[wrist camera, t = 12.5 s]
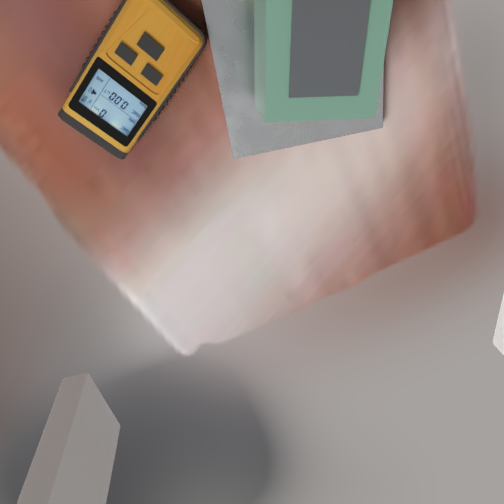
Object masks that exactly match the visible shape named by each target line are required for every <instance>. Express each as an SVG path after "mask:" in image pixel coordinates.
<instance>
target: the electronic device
mask: <svg viewBox="0 0 504 504" xmlns="http://www.w3.org/2000/svg"><path fill="white" fill-rule="evenodd" d="M109 20H110V24H109V25H106V26H105V27H106V30H105V31H104V32H102V33H101V34H102V37H101V38H98V44H96V45H94V50H93V51H90V57H87V58H86V61H87V62H86V63H84V64H83V65H82V66H83V69H82V70H81V72H80V74H79V75H78V77H77V79H76V81H75V82H74V84H73V86H72V87H71V89H70V91H69V92H70V95H69V96H68V98H67V100H66V101H65V103H64V105H63V106H62V108H61V110H60V111H59V113H58V116H59V117H60V118H61V119H62V120H63V121H64V122H65V123H67V124H68V125H70V126H71V127H73V128H74V129H76V130H77V131H79V132H80V133H82V134H83V135H85V136H86V137H87V138H89V139H90V140H92V141H93V142H95V143H96V144H98V145H99V146H101V147H102V148H104V149H105V150H107V151H108V152H110V153H111V154H113V155H114V156H116V157H117V158H120V159H124V158H125V157H126V156H127V154H128V153H129V151H130V150H131V148H132V147H133V145H134V144H135V143H136V141H139V140H140V139H141V137H142V136H143V134H144V133H145V131H146V130H147V129H148V127H149V126H150V124H151V123H152V121H155V120H156V118H157V117H156V116H157V115H160V110H163V109H164V104H167V103H168V99H171V98H172V93H175V92H176V87H179V86H180V82H181V81H182V82H183V81H184V76H187V75H188V70H189V69H190V68H191V66H192V65H193V63H194V62H195V61H196V59H197V58H198V56H199V55H200V53H201V52H202V51H203V49H204V47H205V44H206V38H205V35H204V33H203V32H202V30H201V29H200V28H199V27H197V26H196V25H195V24H194V23H193V22H192V21H191V20H190V19H189V18H188V17H187V16H186V15H185V14H184V13H182V12H181V11H180V10H179V9H178V8H177V7H176V6H175V5H174V4H173V3H172V2H171V1H170V0H123V2H122V3H121V5H120V7H119V8H118V10H117V12H116V11H114V17H113V18H110V19H109Z"/></svg>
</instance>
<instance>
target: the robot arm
mask: <svg viewBox="0 0 504 504" xmlns="http://www.w3.org/2000/svg"><path fill="white" fill-rule="evenodd" d="M493 344H494V345H495V346H496V347H497V348H498V349H499V351H500V352H501V353H502V354H503V355H504V295H503V299H502V304H501V308H500V312H499V317H498V321H497V325H496V330H495V334H494V338H493ZM119 430H120V424H119V423H118V421H117V419H116V418H115V416H114V415H113V413H112V411H111V410H110V408H109V406H108V405H107V403H106V402H105V400H104V398H103V397H102V395H101V393H100V392H99V390H98V389H97V387H96V385H95V384H94V382H93V381H92V379H91V377H90V376H89V374H88V373H84V374H80V375H75V376H70V377H66V378H63V380H62V382H61V385H60V388H59V391H58V393H57V396H56V399H55V401H54V405H53V407H52V410H51V412H50V415H49V418H48V420H47V423H46V426H45V428H44V431H43V434H42V437H41V439H40V442H39V445H38V447H37V450H36V453H35V456H34V458H33V461H32V464H31V467H30V469H29V472H28V475H27V477H26V480H25V483H24V485H23V488H22V491H21V494H20V497H19V499H18V502H17V504H106V500H107V495H108V489H109V484H110V479H111V473H112V467H113V463H114V457H115V452H116V446H117V441H118V435H119Z"/></svg>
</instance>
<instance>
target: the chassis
mask: <svg viewBox="0 0 504 504" xmlns="http://www.w3.org/2000/svg"><path fill="white" fill-rule="evenodd" d="M201 1H202V6H203V11H204V16H205V21H206V26H207V31H208V35H209V40H210V45H211V50H212V55H213V60H214V65H215V70H216V75H217V80H218V85H219V90H220V94H221V99H222V104H223V109H224V114H225V119H226V124H227V129H228V134H229V139H230V144H231V149H232V153H233V158H234V159H236V158H241V157H245V156H250V155H255V154H260V153H265V152H269V151H274V150H279V149H284V148H288V147H293V146H298V145H303V144H307V143H312V142H317V141H322V140H327V139H331V138H336V137H341V136H346V135H350V134H355V133H360V132H365V131H369V130H374V129H379V128H383V80H384V64H383V70H382V77H381V83H380V90H379V96H378V102H377V109H376V115H375V118H363V119H337V120H312V121H287V122H264V120H263V118H262V117H261V115H260V114H259V112H258V111H257V109H256V107H255V70H254V0H201Z"/></svg>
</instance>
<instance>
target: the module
mask: <svg viewBox="0 0 504 504" xmlns="http://www.w3.org/2000/svg"><path fill="white" fill-rule="evenodd" d="M392 6H393V0H254V70H255V107H256V109H257V111H258V112H259V114H260V115H261V117H262V118H263V120H264V122H287V121H312V120H337V119H363V118H375V115H376V109H377V102H378V96H379V90H380V83H381V77H382V70H383V64H384V57H385V51H386V44H387V38H388V31H389V25H390V18H391V12H392Z"/></svg>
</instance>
